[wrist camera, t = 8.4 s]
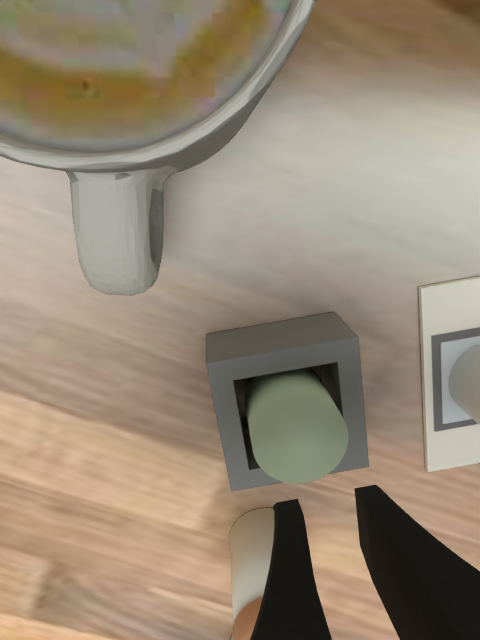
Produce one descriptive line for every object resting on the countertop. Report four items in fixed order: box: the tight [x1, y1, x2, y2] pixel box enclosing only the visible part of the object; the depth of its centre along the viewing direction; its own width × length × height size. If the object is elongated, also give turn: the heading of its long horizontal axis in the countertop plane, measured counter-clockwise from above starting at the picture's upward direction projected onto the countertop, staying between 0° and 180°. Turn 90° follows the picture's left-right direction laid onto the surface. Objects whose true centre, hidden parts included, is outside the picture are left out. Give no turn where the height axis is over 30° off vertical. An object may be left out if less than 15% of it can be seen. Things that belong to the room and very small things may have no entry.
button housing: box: [206, 312, 369, 492], centre depth 20 cm, size 6×6×4 cm
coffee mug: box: [0, 0, 316, 296], centre depth 13 cm, size 13×10×10 cm
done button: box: [245, 367, 348, 483], centre depth 18 cm, size 4×4×4 cm
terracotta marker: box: [229, 508, 274, 640], centre depth 21 cm, size 4×4×7 cm
